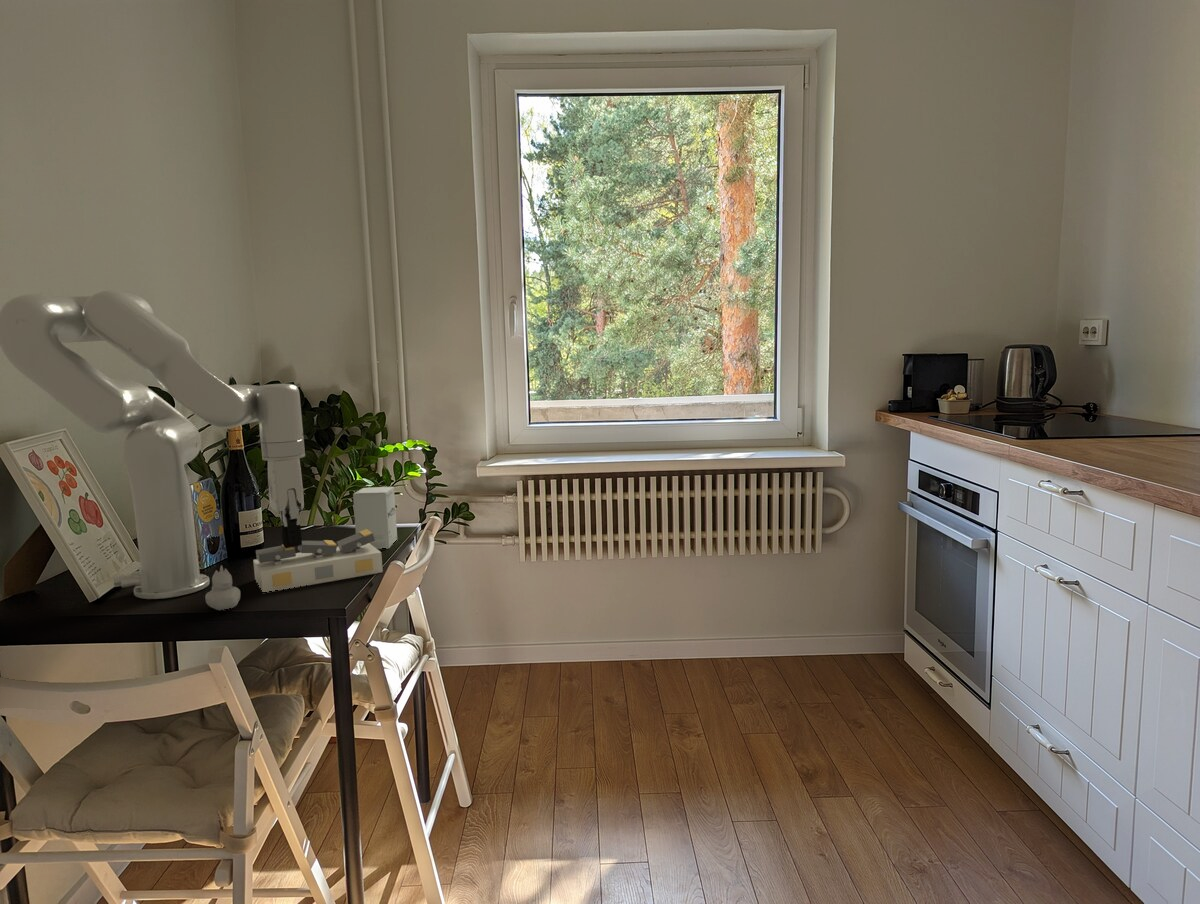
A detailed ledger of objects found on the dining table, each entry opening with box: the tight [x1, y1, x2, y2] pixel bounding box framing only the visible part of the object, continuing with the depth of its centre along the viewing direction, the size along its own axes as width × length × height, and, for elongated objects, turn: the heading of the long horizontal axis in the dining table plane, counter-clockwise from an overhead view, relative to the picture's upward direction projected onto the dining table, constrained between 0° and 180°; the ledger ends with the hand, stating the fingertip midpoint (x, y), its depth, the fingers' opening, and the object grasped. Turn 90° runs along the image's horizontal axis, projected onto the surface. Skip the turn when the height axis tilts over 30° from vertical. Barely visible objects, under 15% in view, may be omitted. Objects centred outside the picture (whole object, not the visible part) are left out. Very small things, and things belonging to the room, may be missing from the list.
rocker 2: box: [297, 539, 338, 553], centre depth 157 cm, size 6×5×2 cm
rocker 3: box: [336, 529, 375, 553], centre depth 160 cm, size 6×5×2 cm
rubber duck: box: [204, 564, 241, 611], centre depth 139 cm, size 5×7×8 cm
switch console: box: [252, 543, 384, 593], centre depth 157 cm, size 22×10×5 cm, turn 120°
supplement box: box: [352, 486, 398, 550], centre depth 179 cm, size 7×7×13 cm
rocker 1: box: [255, 544, 297, 563], centre depth 153 cm, size 6×5×2 cm
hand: (292, 545), depth 154 cm, fingers closed
